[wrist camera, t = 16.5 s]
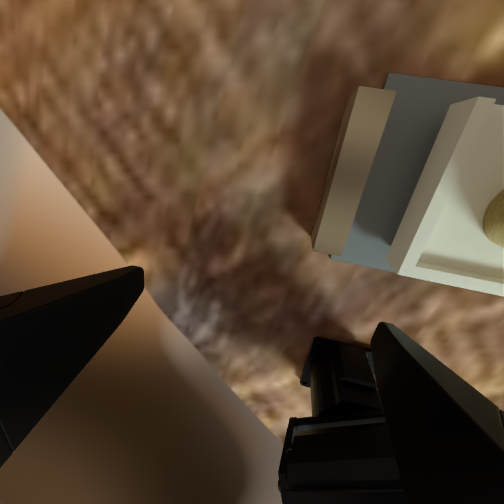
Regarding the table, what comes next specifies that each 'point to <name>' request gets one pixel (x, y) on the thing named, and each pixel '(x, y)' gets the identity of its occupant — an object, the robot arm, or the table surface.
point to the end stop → (350, 167)
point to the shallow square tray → (456, 203)
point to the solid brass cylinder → (495, 220)
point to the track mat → (402, 161)
